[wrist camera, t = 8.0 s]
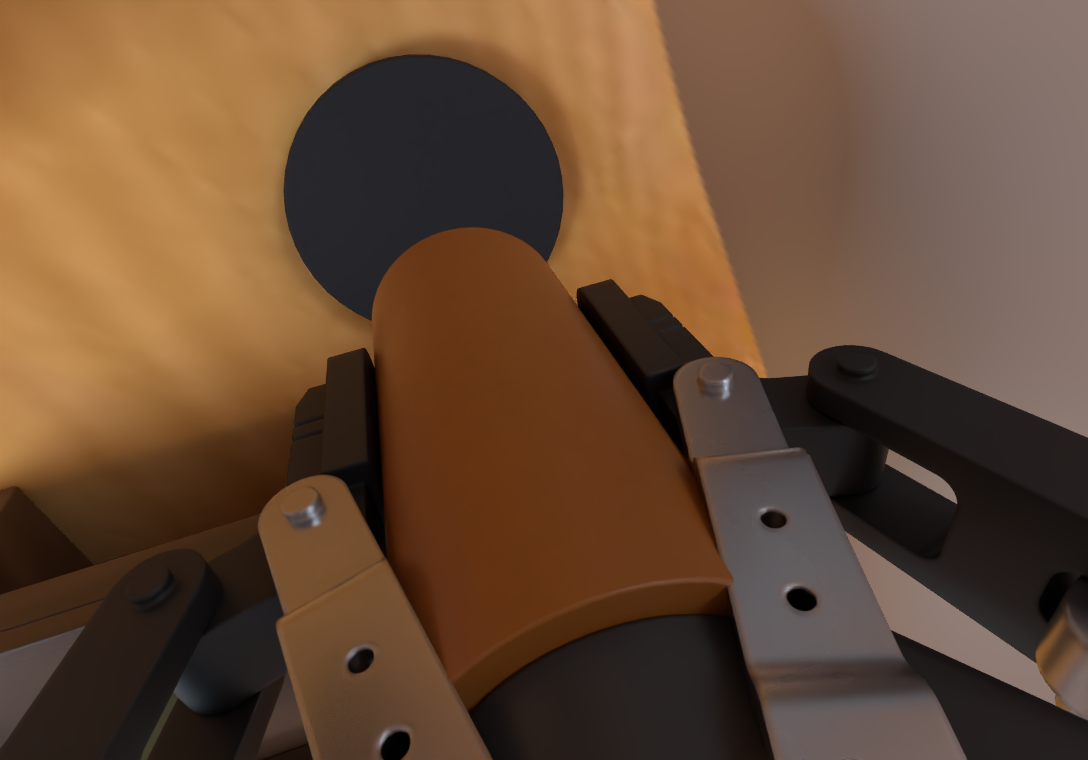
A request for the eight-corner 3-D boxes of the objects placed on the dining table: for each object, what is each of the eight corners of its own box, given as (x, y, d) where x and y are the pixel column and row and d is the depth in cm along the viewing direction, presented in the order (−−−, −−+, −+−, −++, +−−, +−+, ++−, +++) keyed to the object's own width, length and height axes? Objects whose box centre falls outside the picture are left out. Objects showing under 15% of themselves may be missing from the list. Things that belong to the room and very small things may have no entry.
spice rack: (-42, 502, 21) (-202, 718, 15) (544, 331, 24) (614, 455, 18) (132, 662, 28) (70, 860, 22) (580, 513, 31) (640, 651, 24)
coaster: (232, 92, 17) (228, 96, 17) (534, 24, 18) (539, 25, 18) (345, 353, 22) (345, 361, 22) (575, 287, 23) (579, 294, 23)
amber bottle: (342, 256, 12) (325, 929, 4) (544, 204, 13) (964, 676, 4) (405, 418, 15) (486, 1048, 6) (572, 369, 16) (869, 881, 7)
